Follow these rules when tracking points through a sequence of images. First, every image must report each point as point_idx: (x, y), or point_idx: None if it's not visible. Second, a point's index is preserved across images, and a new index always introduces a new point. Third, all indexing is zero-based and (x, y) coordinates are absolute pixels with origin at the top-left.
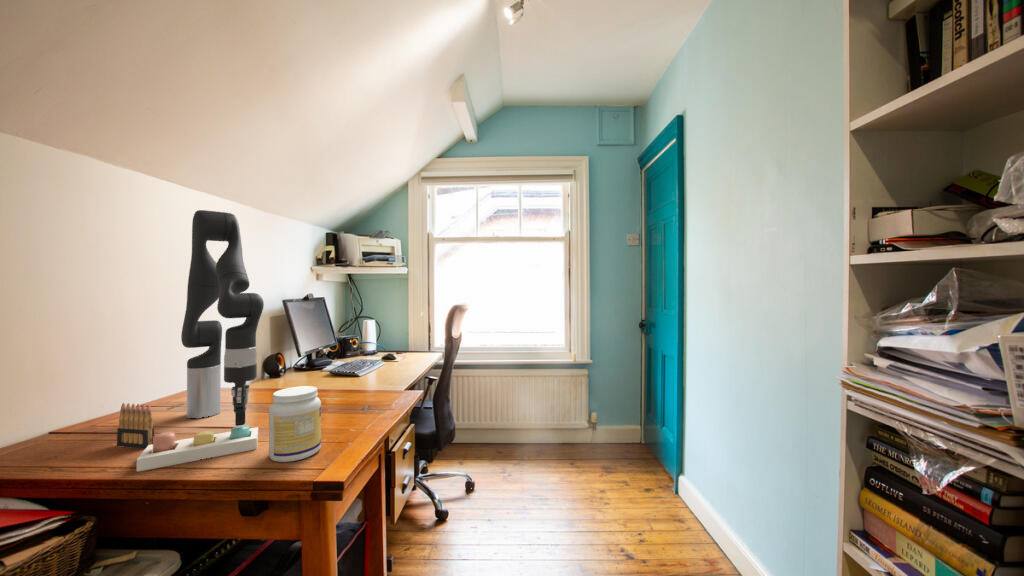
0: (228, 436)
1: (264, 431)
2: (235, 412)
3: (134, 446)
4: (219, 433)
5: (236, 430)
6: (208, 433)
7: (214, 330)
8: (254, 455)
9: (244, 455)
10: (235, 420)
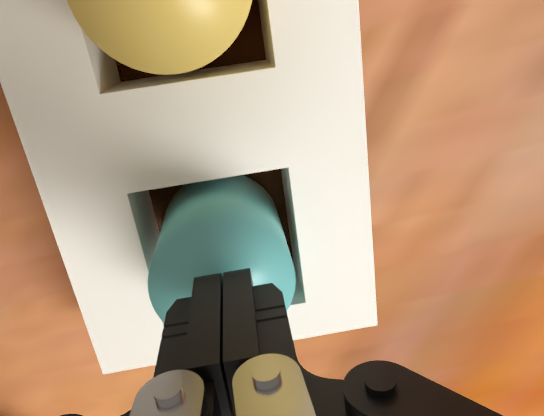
0: (233, 168)
1: (457, 293)
2: (150, 388)
3: None
4: (361, 66)
5: (150, 274)
6: (151, 27)
7: None
8: (9, 335)
9: (26, 282)
10: (192, 305)
